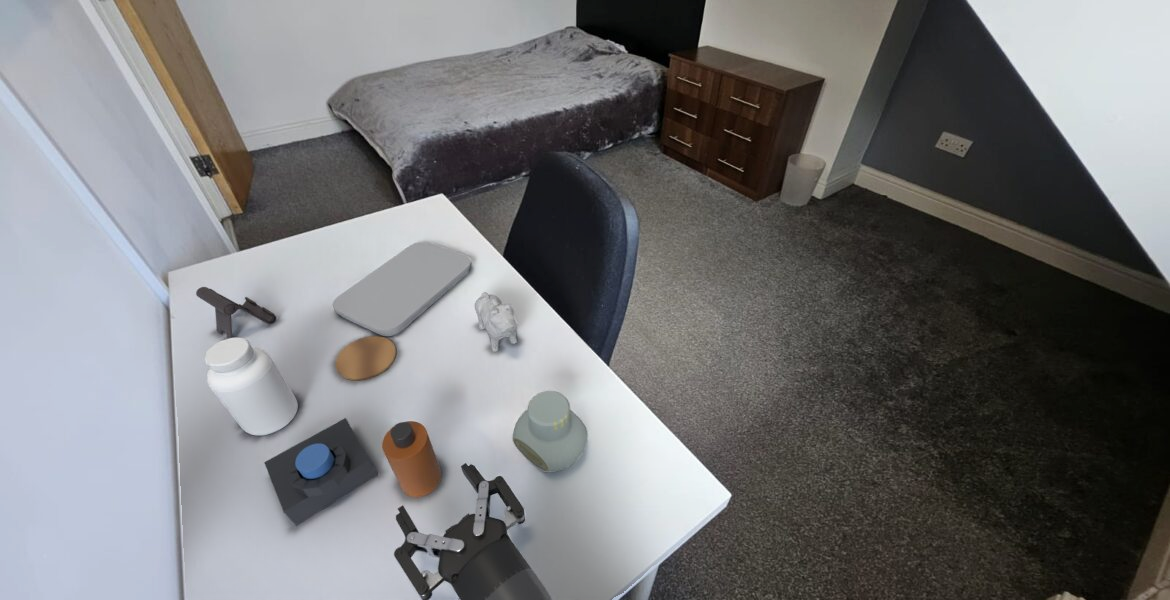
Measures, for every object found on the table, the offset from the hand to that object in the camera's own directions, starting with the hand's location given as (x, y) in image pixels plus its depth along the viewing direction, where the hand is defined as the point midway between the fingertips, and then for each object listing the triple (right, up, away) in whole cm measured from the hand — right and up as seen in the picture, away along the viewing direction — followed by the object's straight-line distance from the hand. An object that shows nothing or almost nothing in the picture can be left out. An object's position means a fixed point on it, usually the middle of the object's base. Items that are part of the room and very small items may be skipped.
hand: (433, 487), depth 59 cm
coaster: (-20, +13, +24) cm, 34 cm away
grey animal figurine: (+3, +16, +29) cm, 33 cm away
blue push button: (-16, +2, +3) cm, 17 cm away
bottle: (-4, -2, +8) cm, 9 cm away
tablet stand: (-45, +19, +30) cm, 58 cm away
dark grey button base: (-18, -1, +8) cm, 19 cm away
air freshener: (+14, +1, +12) cm, 18 cm away
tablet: (-18, +26, +39) cm, 50 cm away
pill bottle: (-30, +5, +15) cm, 34 cm away
